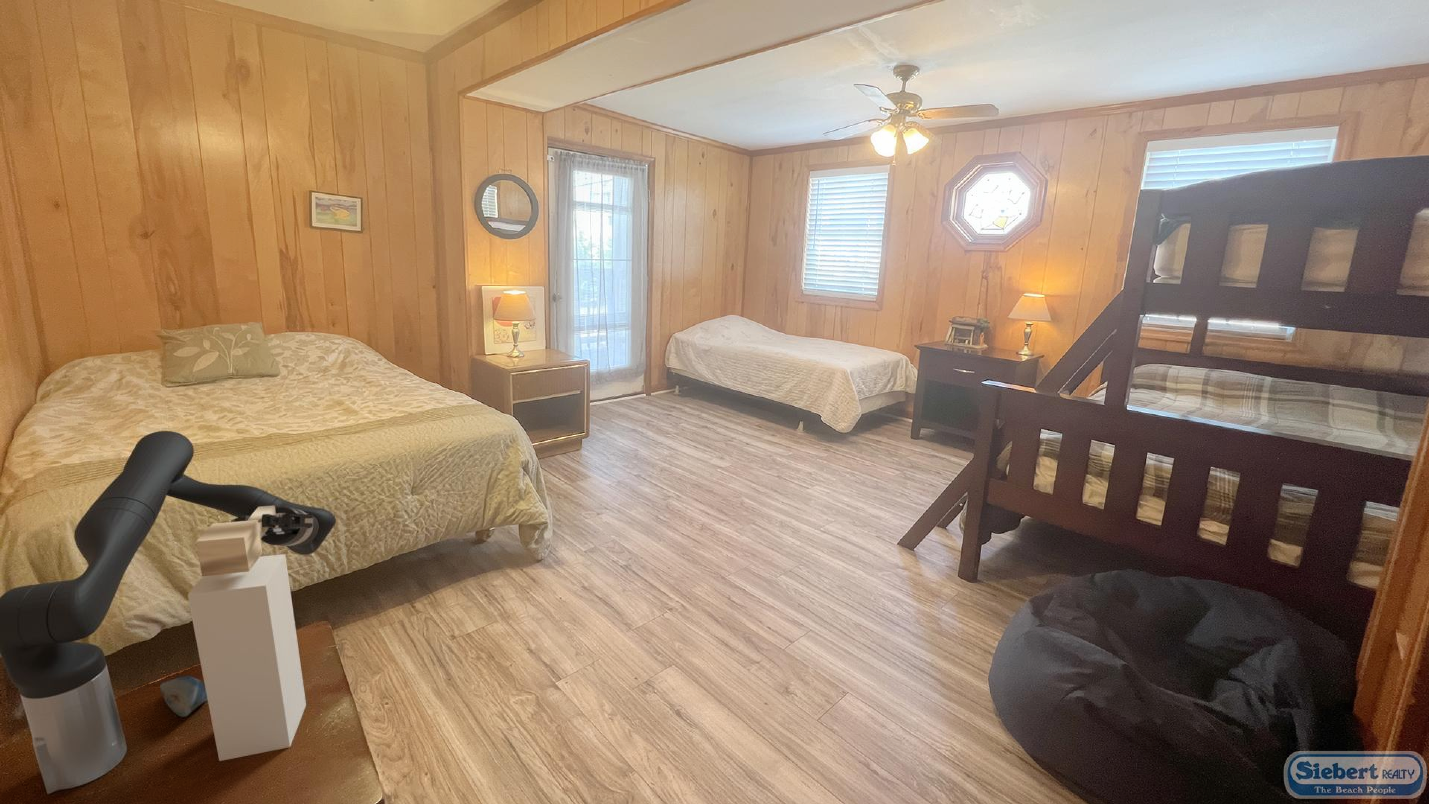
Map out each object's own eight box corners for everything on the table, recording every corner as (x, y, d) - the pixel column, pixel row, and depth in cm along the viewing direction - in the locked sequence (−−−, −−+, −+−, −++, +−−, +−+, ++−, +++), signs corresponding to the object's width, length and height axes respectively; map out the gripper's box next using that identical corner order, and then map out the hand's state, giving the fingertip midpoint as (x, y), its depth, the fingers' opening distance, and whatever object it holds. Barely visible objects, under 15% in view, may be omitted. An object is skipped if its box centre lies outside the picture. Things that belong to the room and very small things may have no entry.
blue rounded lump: (176, 671, 114) (140, 678, 104) (229, 674, 115) (198, 681, 106) (164, 707, 112) (126, 718, 102) (218, 709, 113) (186, 720, 104)
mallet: (249, 571, 93) (243, 537, 91) (202, 576, 91) (195, 541, 89) (287, 516, 110) (283, 487, 109) (248, 519, 108) (244, 489, 107)
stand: (290, 747, 102) (265, 585, 94) (219, 761, 99) (187, 594, 90) (306, 705, 111) (285, 554, 103) (241, 716, 108) (214, 561, 99)
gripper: (245, 511, 117) (206, 503, 101) (327, 504, 122) (301, 496, 106) (243, 549, 115) (202, 547, 99) (326, 541, 120) (299, 538, 104)
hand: (253, 521), depth 103 cm, fingers closed on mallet, 2 cm apart
